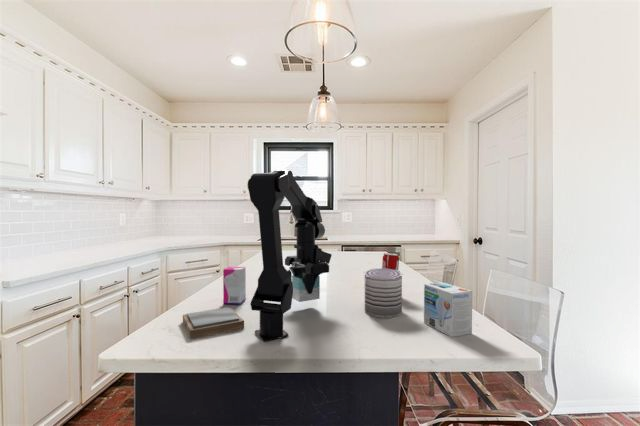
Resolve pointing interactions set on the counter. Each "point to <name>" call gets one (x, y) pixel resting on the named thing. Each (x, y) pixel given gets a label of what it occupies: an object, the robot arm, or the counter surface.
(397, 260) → the beverage can
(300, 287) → the teal and white box
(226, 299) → the supplement box
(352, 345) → the counter surface
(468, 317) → the light bulb box
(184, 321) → the square wooden frame
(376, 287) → the can
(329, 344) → the counter surface
